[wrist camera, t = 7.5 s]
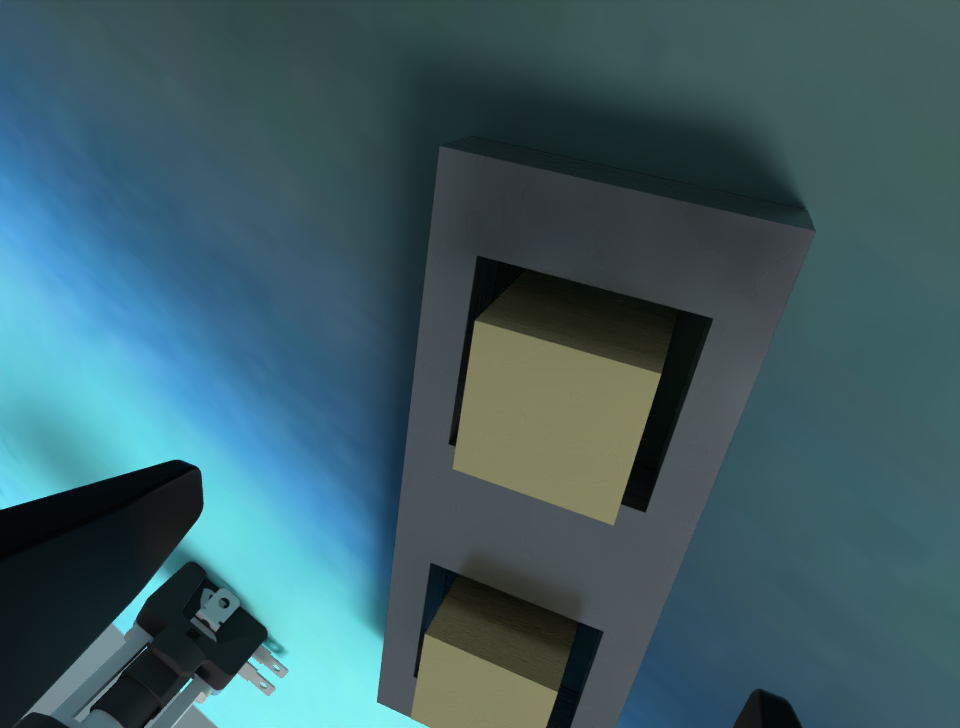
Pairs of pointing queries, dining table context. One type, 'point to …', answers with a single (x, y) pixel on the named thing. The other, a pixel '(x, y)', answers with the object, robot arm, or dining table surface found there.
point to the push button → (170, 659)
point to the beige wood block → (561, 391)
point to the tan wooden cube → (491, 660)
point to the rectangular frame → (649, 493)
